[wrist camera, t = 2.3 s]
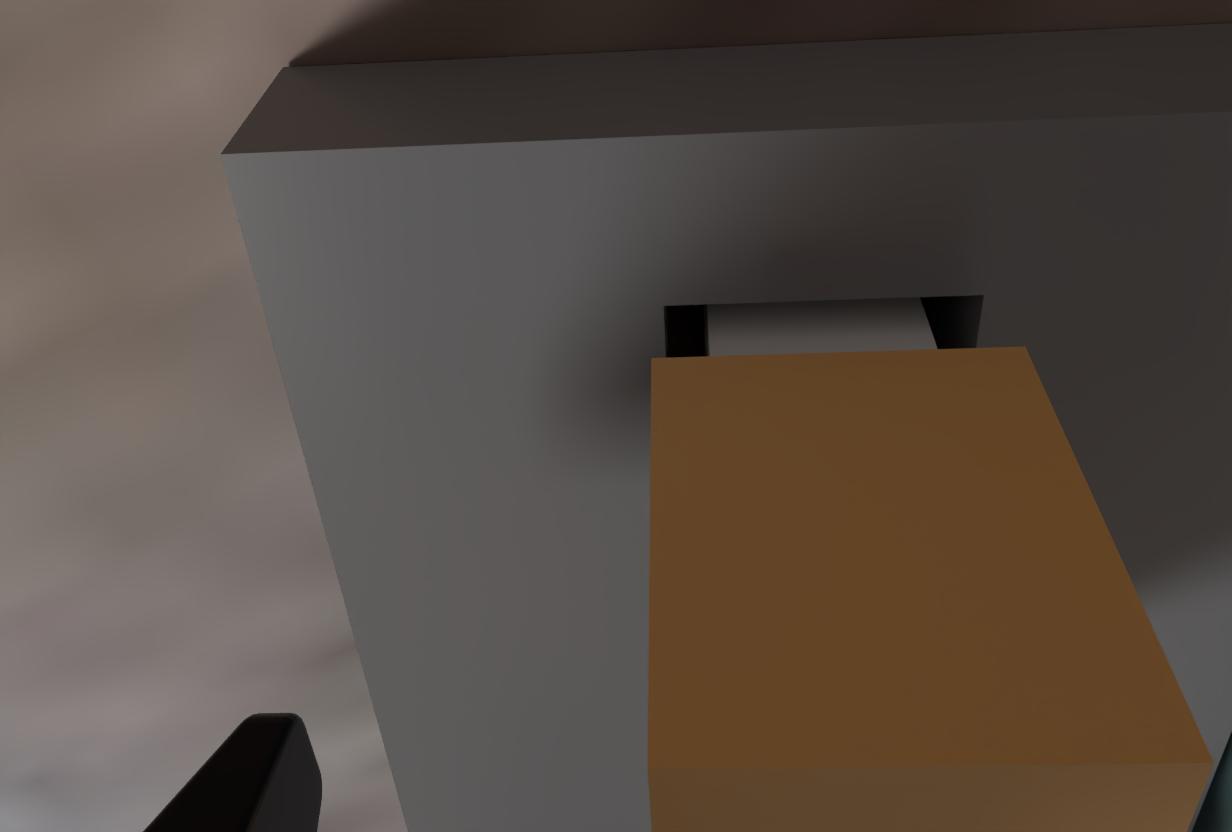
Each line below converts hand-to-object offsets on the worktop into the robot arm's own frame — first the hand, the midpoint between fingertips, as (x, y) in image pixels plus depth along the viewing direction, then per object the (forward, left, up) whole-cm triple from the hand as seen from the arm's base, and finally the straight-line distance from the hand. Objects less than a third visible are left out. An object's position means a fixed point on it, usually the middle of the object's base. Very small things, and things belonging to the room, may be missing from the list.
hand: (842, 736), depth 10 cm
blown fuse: (0, 0, -5) cm, 5 cm away
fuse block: (-5, 0, -5) cm, 7 cm away
